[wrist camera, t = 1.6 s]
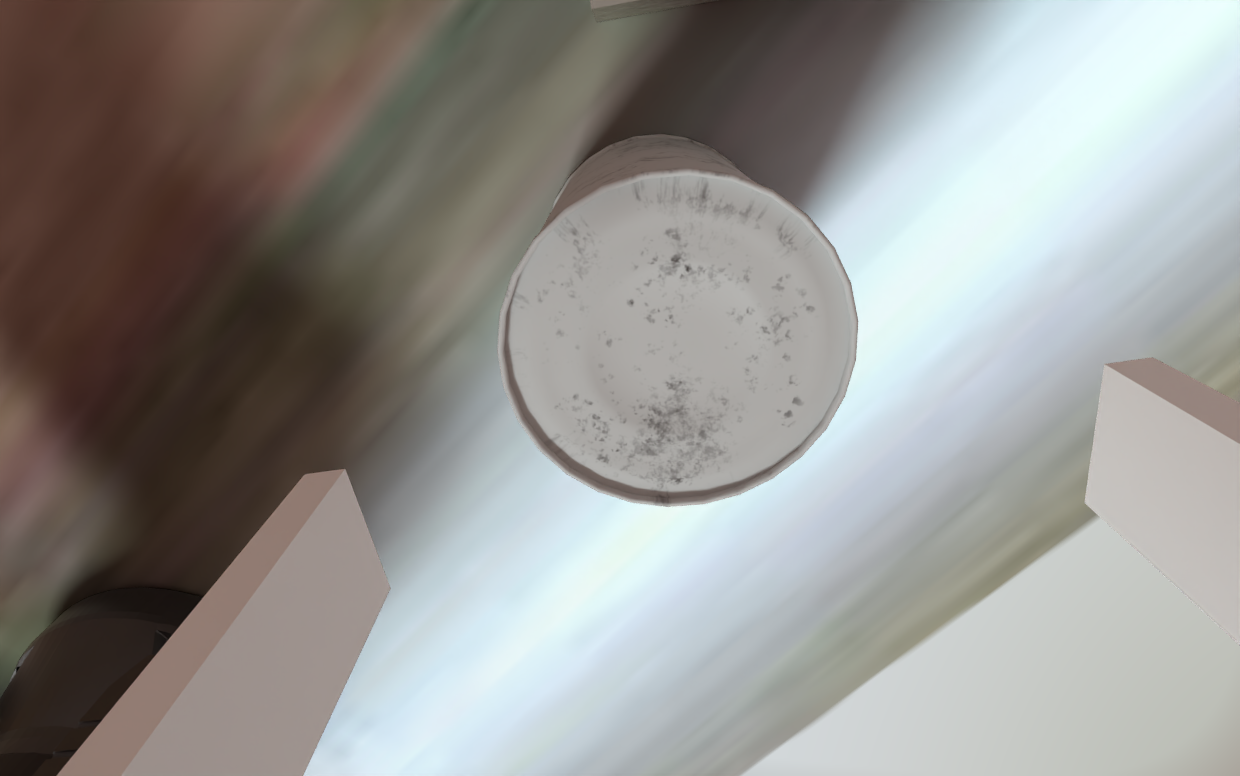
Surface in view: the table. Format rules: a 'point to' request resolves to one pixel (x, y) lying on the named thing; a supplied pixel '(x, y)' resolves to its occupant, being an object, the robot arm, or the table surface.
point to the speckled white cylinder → (675, 327)
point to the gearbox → (634, 7)
